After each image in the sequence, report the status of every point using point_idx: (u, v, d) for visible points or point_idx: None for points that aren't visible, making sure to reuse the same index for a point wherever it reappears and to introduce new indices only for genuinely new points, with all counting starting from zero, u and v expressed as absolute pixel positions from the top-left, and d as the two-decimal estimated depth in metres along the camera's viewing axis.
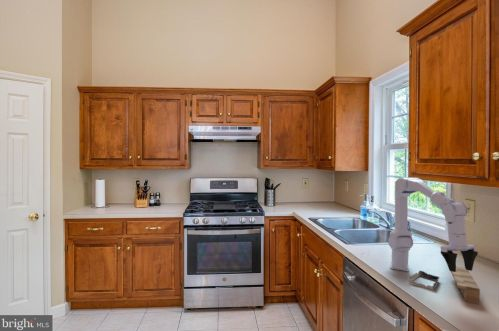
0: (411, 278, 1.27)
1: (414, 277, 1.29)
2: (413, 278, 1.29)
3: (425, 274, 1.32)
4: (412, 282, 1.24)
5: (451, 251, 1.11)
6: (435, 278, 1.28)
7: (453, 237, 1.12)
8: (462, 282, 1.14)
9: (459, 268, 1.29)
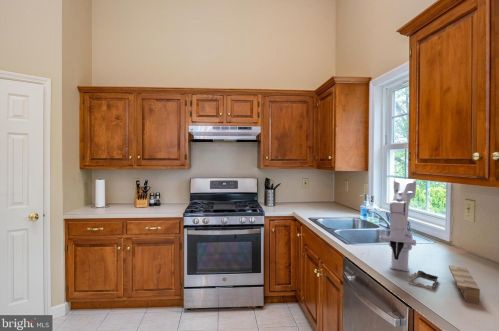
0: (410, 278, 1.27)
1: (413, 277, 1.30)
2: (412, 278, 1.29)
3: (423, 274, 1.32)
4: (411, 282, 1.24)
5: None
6: (434, 278, 1.29)
7: (390, 230, 1.31)
8: (462, 282, 1.14)
9: (459, 268, 1.29)
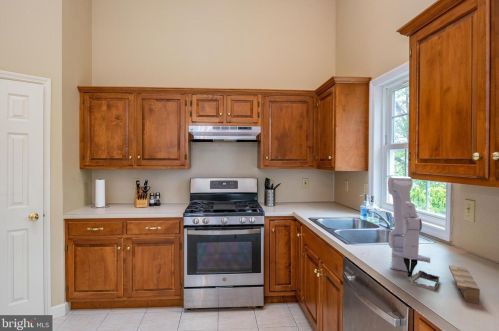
0: (411, 279, 1.26)
1: (414, 277, 1.29)
2: (414, 278, 1.28)
3: (424, 274, 1.32)
4: (413, 282, 1.24)
5: (399, 257, 1.30)
6: (435, 278, 1.29)
7: (404, 247, 1.29)
8: (462, 282, 1.14)
9: (459, 268, 1.29)
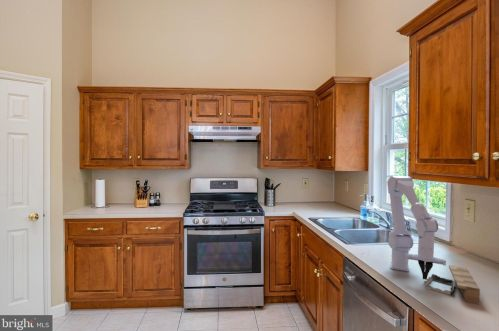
0: (425, 283, 1.23)
1: (428, 281, 1.25)
2: (427, 283, 1.25)
3: (438, 278, 1.28)
4: (428, 287, 1.20)
5: None
6: (449, 282, 1.25)
7: (418, 249, 1.26)
8: (462, 282, 1.14)
9: (459, 268, 1.29)
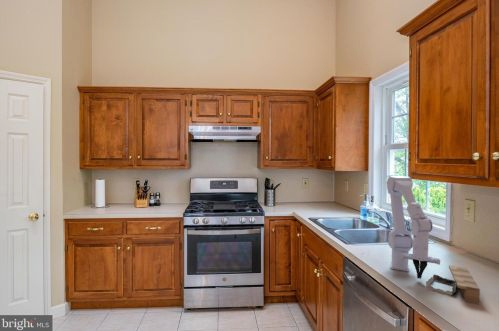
0: (427, 283, 1.22)
1: (430, 282, 1.25)
2: (429, 283, 1.24)
3: (439, 278, 1.28)
4: (429, 287, 1.19)
5: None
6: (451, 282, 1.25)
7: (413, 248, 1.27)
8: (462, 282, 1.14)
9: (459, 268, 1.29)
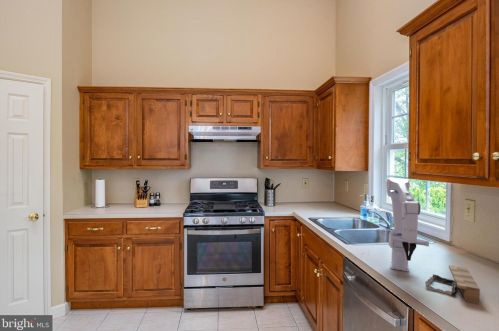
0: (427, 283, 1.22)
1: (429, 281, 1.25)
2: (429, 283, 1.24)
3: (439, 278, 1.28)
4: (429, 287, 1.19)
5: (398, 242, 1.30)
6: (450, 282, 1.25)
7: (402, 231, 1.29)
8: (462, 282, 1.14)
9: (459, 268, 1.29)
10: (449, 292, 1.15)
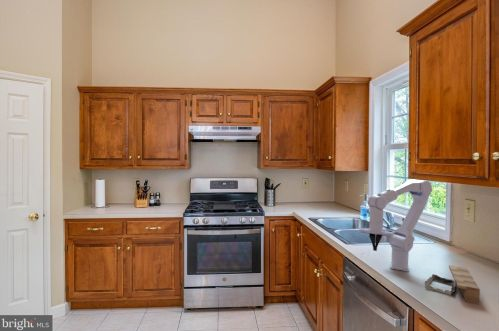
0: (426, 283, 1.22)
1: (428, 281, 1.25)
2: (428, 283, 1.24)
3: (438, 278, 1.28)
4: (429, 287, 1.20)
5: (365, 233, 1.40)
6: (449, 282, 1.25)
7: None
8: (462, 282, 1.14)
9: (459, 268, 1.29)
10: (448, 292, 1.15)
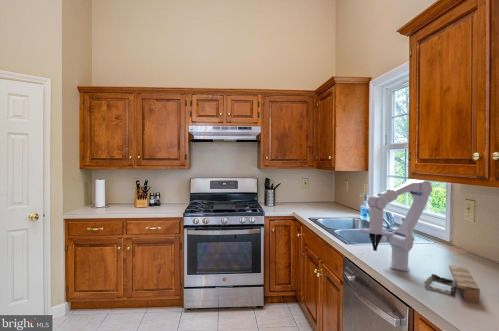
0: (426, 283, 1.23)
1: (428, 281, 1.25)
2: (428, 283, 1.24)
3: (437, 278, 1.28)
4: (428, 287, 1.20)
5: (365, 233, 1.40)
6: (449, 281, 1.25)
7: None
8: (462, 282, 1.14)
9: (459, 268, 1.29)
10: (448, 292, 1.15)
